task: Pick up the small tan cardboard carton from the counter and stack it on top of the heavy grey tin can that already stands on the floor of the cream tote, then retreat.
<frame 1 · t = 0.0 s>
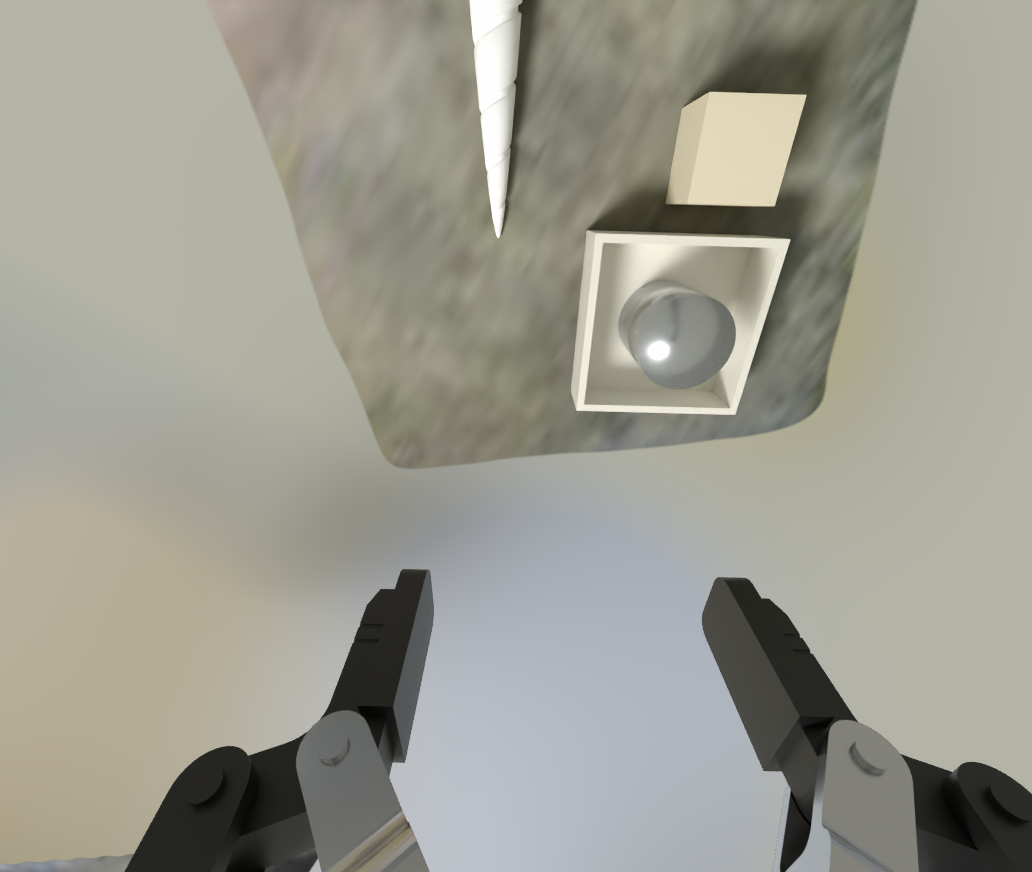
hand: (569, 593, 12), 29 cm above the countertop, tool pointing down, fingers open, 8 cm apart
unicorn horn: (502, 29, 28), on the countertop
tote: (656, 319, 37), on the countertop
carton: (712, 159, 31), on the countertop
tin can: (658, 321, 36), point 1 cm above the countertop, touching tote
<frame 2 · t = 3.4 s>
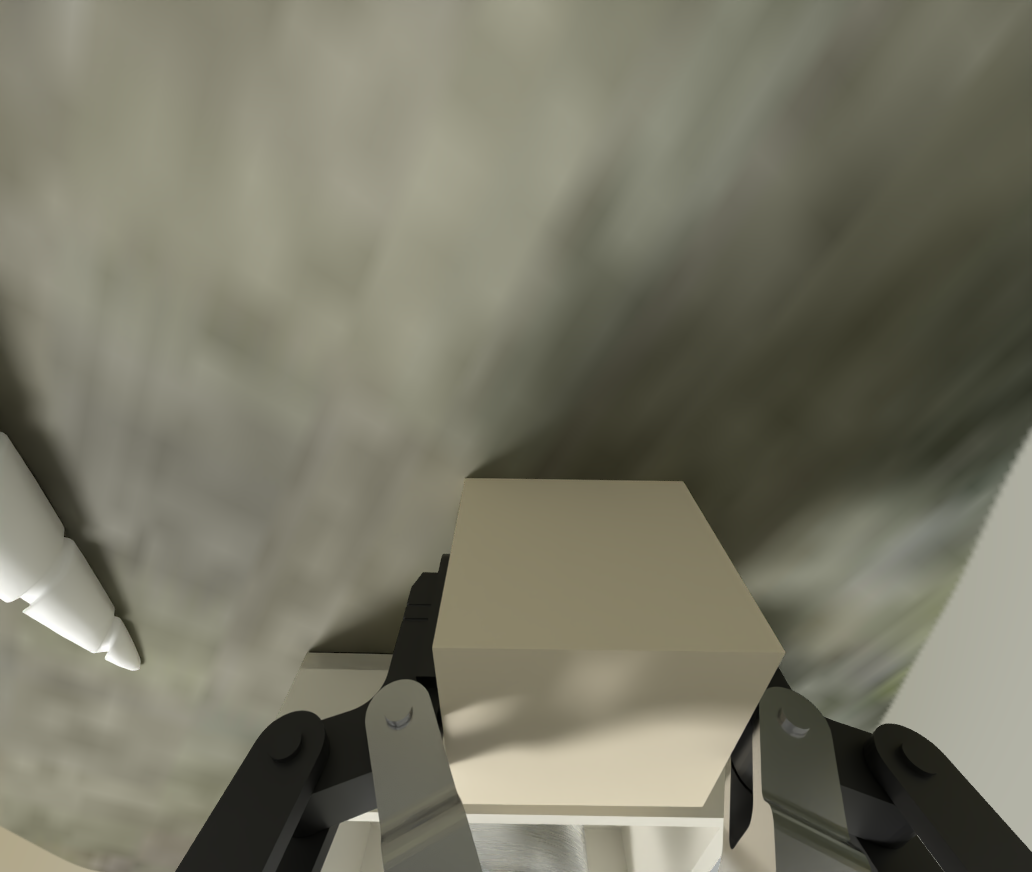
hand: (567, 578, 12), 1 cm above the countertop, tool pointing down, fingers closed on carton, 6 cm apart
tote: (497, 751, 19), on the countertop
carton: (566, 558, 13), on the countertop, touching gripper
tin can: (497, 767, 18), point 1 cm above the countertop, touching tote
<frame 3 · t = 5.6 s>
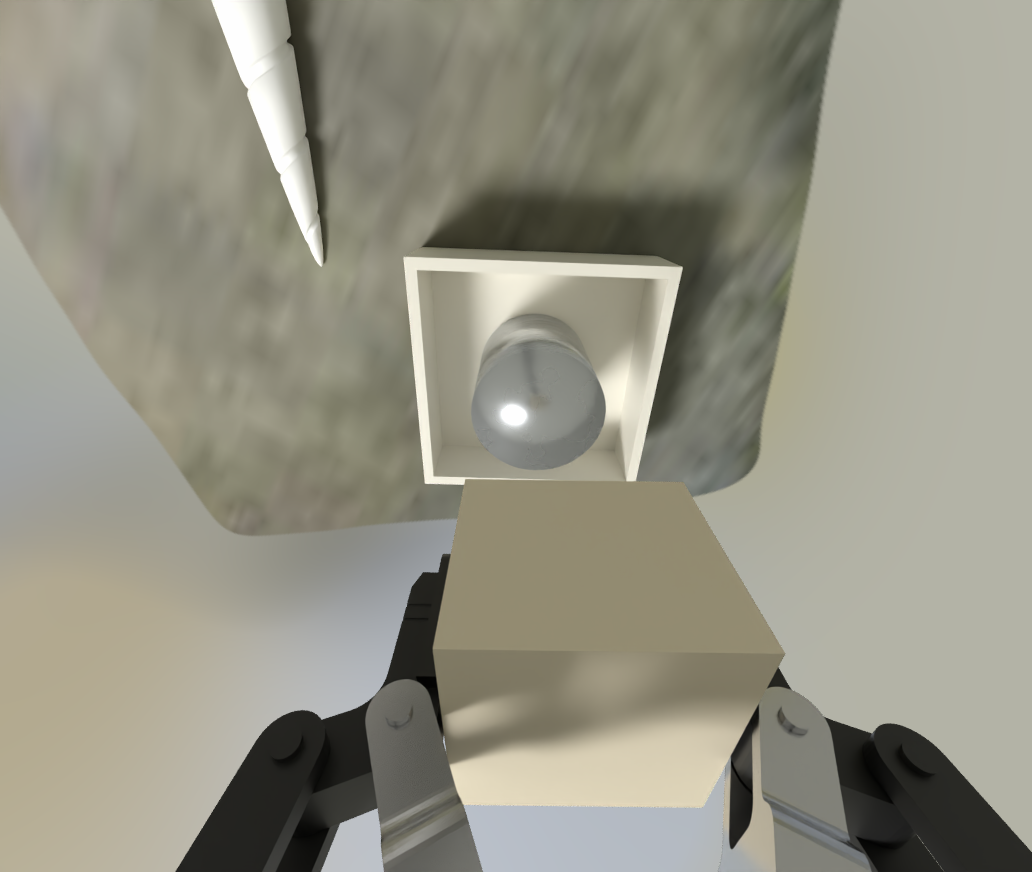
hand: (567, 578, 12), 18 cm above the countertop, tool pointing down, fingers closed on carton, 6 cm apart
tote: (533, 363, 28), on the countertop
carton: (566, 559, 13), point 18 cm above the countertop, touching gripper
tin can: (533, 366, 28), point 1 cm above the countertop, touching tote
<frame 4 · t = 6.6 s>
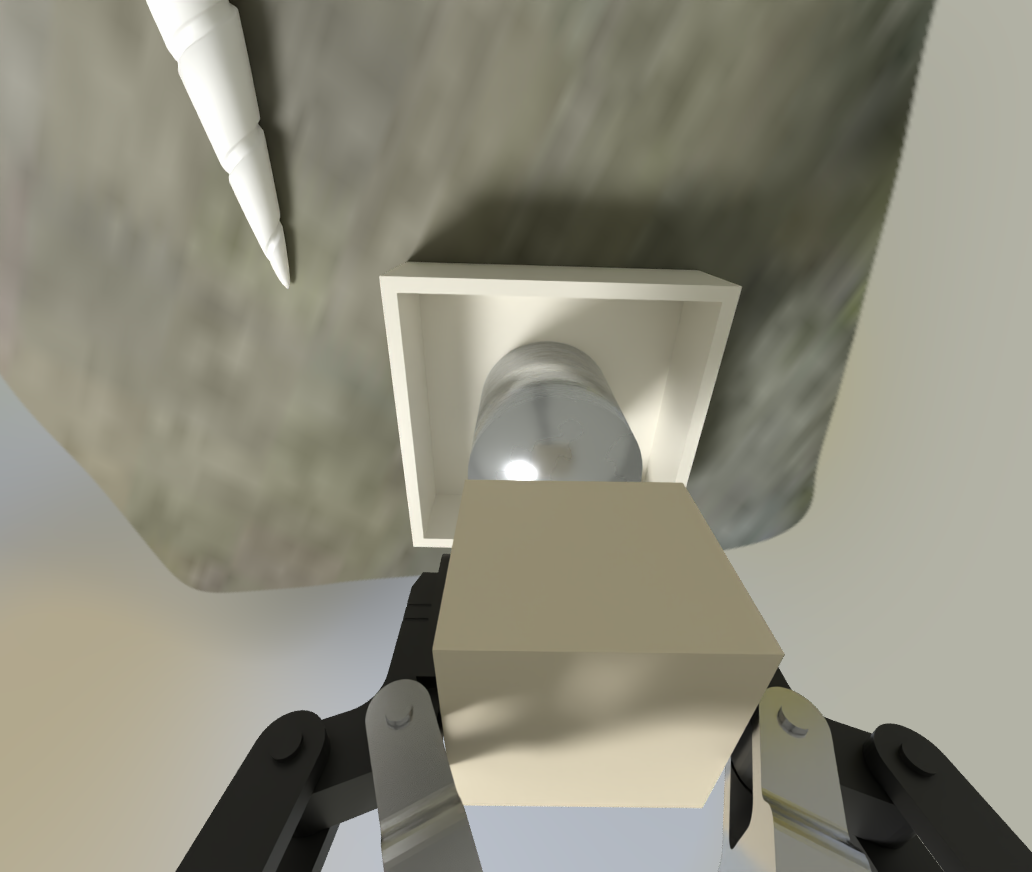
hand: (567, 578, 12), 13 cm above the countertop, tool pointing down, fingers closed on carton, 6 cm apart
tote: (544, 399, 23), on the countertop
carton: (566, 560, 13), point 12 cm above the countertop, touching gripper
tin can: (544, 403, 23), point 1 cm above the countertop, touching tote
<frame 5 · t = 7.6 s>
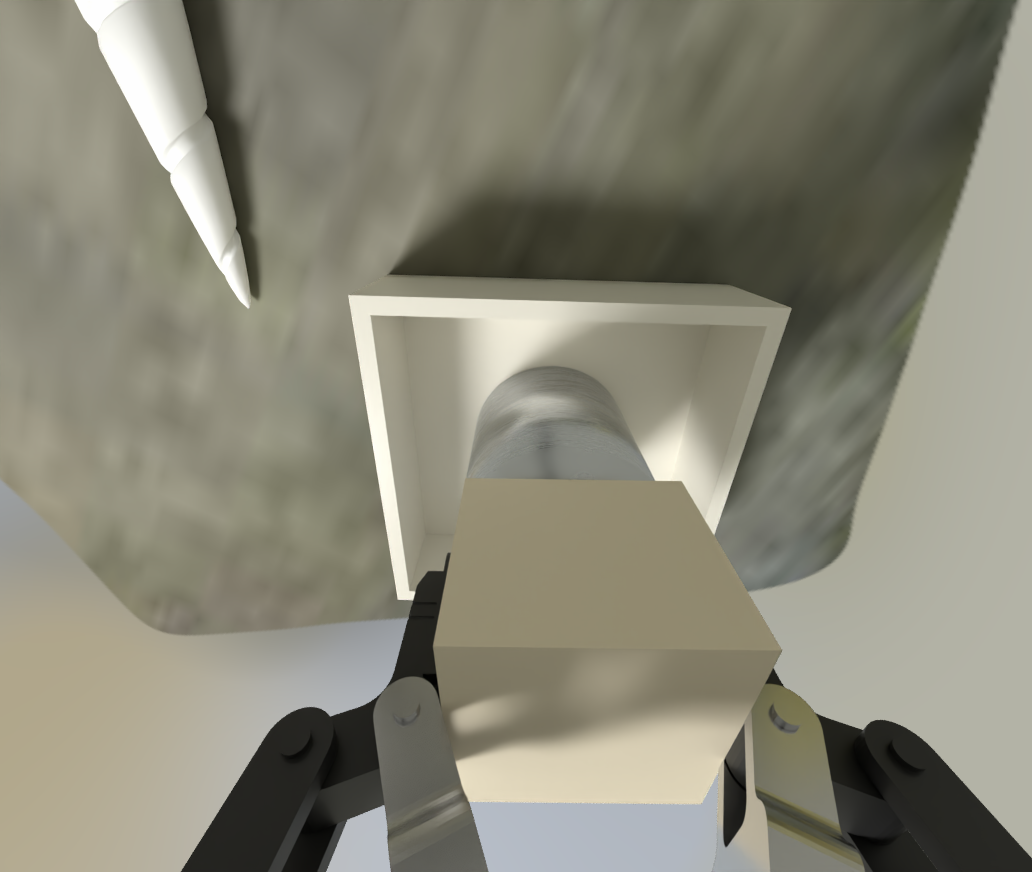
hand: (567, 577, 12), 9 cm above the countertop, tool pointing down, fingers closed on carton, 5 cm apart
tote: (547, 429, 20), on the countertop
carton: (565, 558, 13), point 9 cm above the countertop, touching gripper
tin can: (548, 435, 20), point 1 cm above the countertop, touching tote
when the fingers open (9 cm above the countertop, at t = 7.7 s): carton stays where it is, resting on tin can.
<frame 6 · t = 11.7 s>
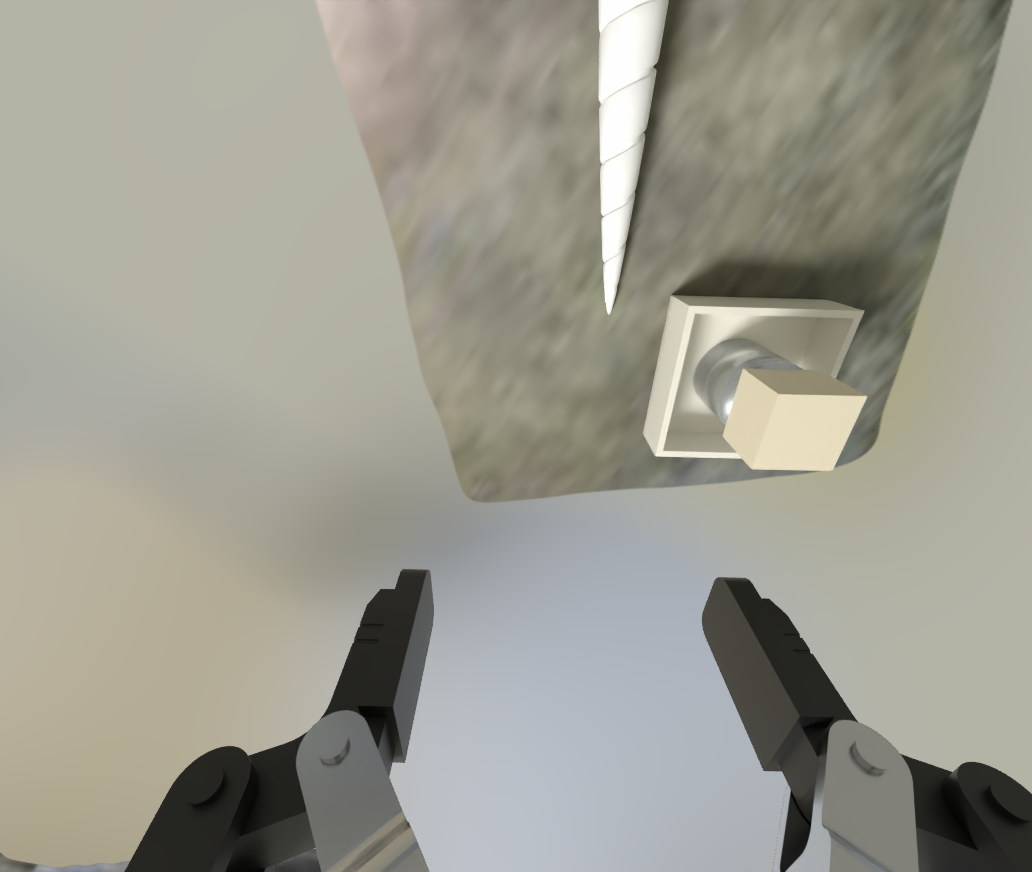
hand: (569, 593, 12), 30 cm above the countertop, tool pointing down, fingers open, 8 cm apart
unicorn horn: (621, 142, 32), on the countertop
tote: (727, 372, 40), on the countertop
carton: (769, 404, 34), point 8 cm above the countertop, touching tin can
tin can: (730, 374, 40), point 1 cm above the countertop, touching carton, tote
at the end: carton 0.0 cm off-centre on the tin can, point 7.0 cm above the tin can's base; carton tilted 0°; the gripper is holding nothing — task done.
